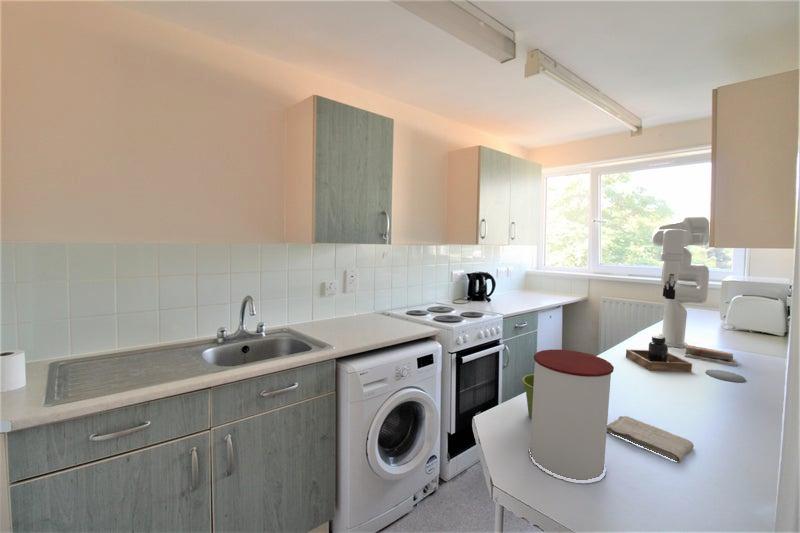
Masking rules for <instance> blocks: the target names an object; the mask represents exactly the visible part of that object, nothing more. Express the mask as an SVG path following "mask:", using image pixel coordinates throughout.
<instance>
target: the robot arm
mask: <svg viewBox="0 0 800 533" xmlns="http://www.w3.org/2000/svg"><path fill="white" fill-rule="evenodd" d="M709 224H710V222H709V219H708V218H707V217H704V216H680V217H676V218H675V219H674V220H673V221H672V222H671V223H669V224H665V225H660V226H658V227H657V228H655V230H654V231H653V233H652V238H651V241H652V244H653V245H654V246H656V247H661V254H660V255H661V258H660V261H661V262H663V263H662V271H661V278H660V279H661V280H660V283H661V284H662V285H663V287H662V288H663V290H662V297H663V300H664V304H663V305H664V307H663V318H662V331H661V333H658V336H661V337H665V344H666V345H667V346H668V347H671V348H679V347H680V348H682V349H683V348H684V347H685V348H687V347H688V345H689V344H688V343H687V342H685V340H686V338H685V337H686V328H687V319H688V312H687V311H688V310H687V309H686V308H685V306H684V305H683V304H690V305H698V306H699V305H700V306H701V305H704V304H706V302H707V301H708V300H707V298H708V291H709V290H708V289H709V280H710V270H709V267H708V266H706V265H705V264H700V263H692V256H693V255H692V253H691V252H690V250H689V249H688V248H687V247H688V246H700V247H701V246H706V245H708V243H709V242H710V239H709ZM678 282H680V283H678ZM684 283H685V284H684ZM686 283H691V284H686ZM692 283H693V284H692Z"/></svg>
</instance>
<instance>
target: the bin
mask: <svg viewBox="0 0 800 533" xmlns="http://www.w3.org/2000/svg"><path fill="white" fill-rule="evenodd" d="M625 357H626V359H628V360H630V361H632V362H634V363H635V364H637V365H639V366H640V367H642V368H644V369H646V370H647V371H651V372H652V371H654V372H655V371H656V372H678V373H679V372H681V373H692V370H693V363H691V362H689V361H687V360H685V359H682V358H680V357H679V356H677V355H675V354H673V353H670V352H669V351H668V352H667V362H651V361H649V360H648V349H628V348H627V349H626V350H625Z"/></svg>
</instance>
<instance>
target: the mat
mask: <svg viewBox="0 0 800 533" xmlns="http://www.w3.org/2000/svg"><path fill="white" fill-rule="evenodd" d="M705 374H706V375H708V376H709V377H711V378H715V379H718V380H721V381H726V382H732V383H744V382H746V378H745V377H744V376H743V375H740V374H737V373H734V372H731V371H726V370H721V369H706V370H705Z"/></svg>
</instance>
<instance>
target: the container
mask: <svg viewBox="0 0 800 533" xmlns="http://www.w3.org/2000/svg"><path fill="white" fill-rule="evenodd" d="M533 360H534V373H533V374H534V386H533V404H532V419H531V426H530V430H531V431H530V443H529V448H530V452H531V454H530V455H531V457H533V459H534V460H535V462H536V463H538V464H539V465H541V466H542V467H543V468H545V469H547V470H549V471H551V472H552V473H555V474H557V475H560V476H563V477H566V478H571V479H576V480H588V479H592V478H596V477H599V476H600V475H601V474H602V473H603V470H604V464H605V459H606V458H605V457H606V448H607V447H606V445H607V425H608V419H609V404H610V393H611V392H610V391H611V390H610V389H611V379H612V373H614V369H615V367H614V365H613V364H612V363H611V362H609V361H608V360H606V359H604V358H602V357H599V356H596V355H593V354H589V353H586V352H581V351H576V350H571V349H570V350H569V349H543V350H540V351H537V352H536V353H535V354H534V355H533Z"/></svg>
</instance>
